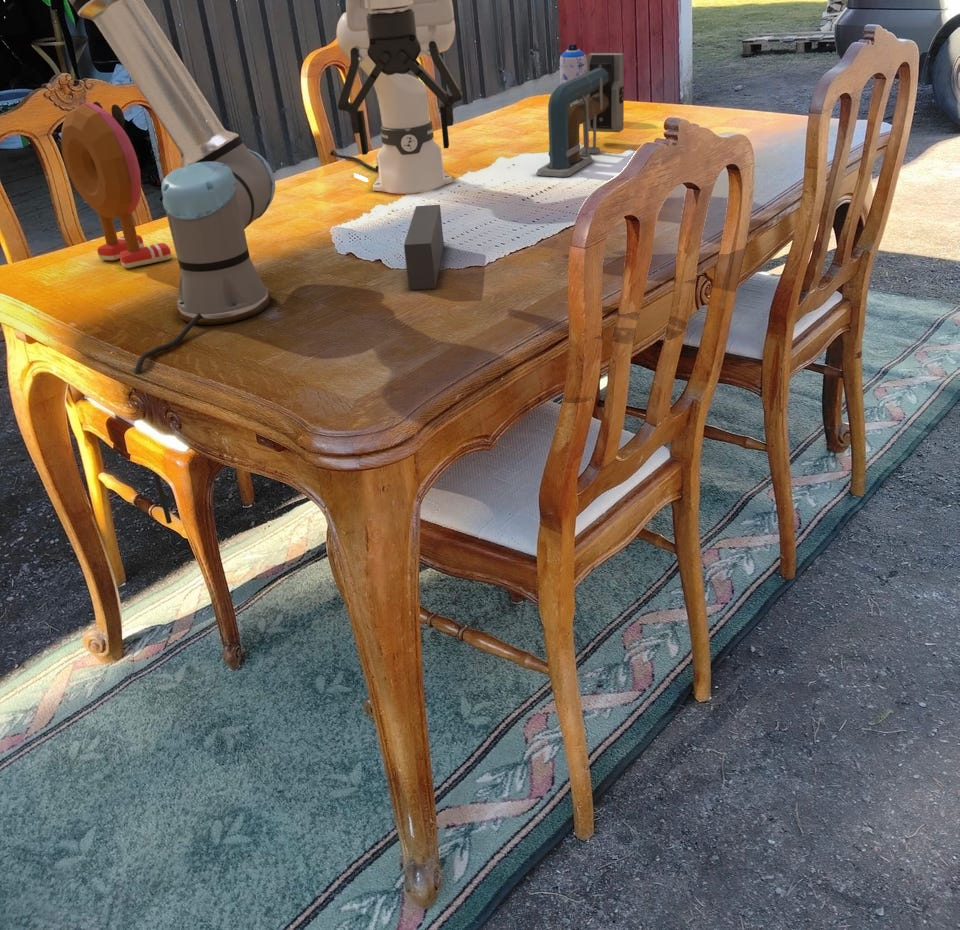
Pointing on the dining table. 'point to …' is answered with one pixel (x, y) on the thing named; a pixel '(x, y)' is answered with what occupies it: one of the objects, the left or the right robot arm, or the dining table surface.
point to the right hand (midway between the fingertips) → (404, 53)
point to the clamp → (584, 113)
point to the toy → (108, 179)
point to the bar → (424, 247)
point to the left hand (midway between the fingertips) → (405, 149)
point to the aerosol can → (572, 66)
